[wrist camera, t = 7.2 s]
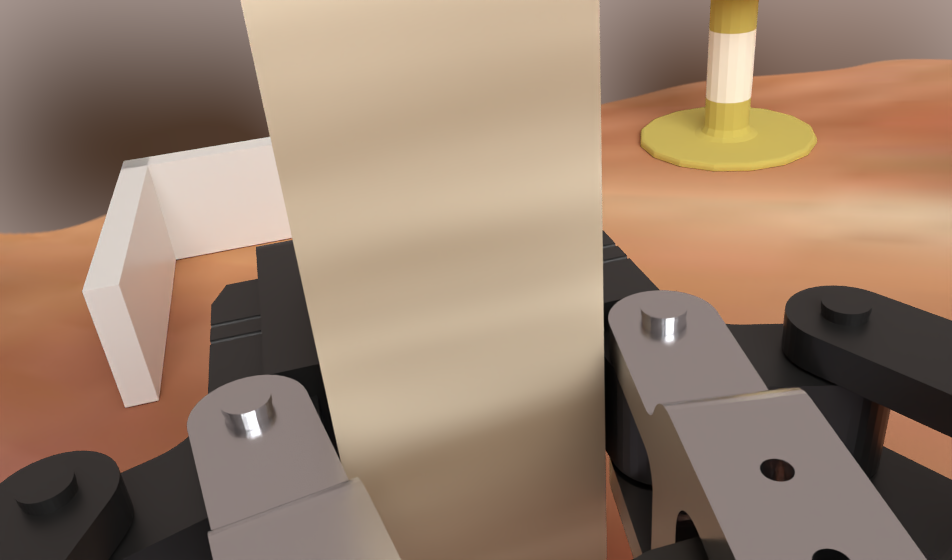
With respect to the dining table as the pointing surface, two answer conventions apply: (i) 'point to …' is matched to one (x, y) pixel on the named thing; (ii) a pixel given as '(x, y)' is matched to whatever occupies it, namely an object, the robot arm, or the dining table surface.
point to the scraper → (451, 258)
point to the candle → (729, 108)
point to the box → (173, 245)
